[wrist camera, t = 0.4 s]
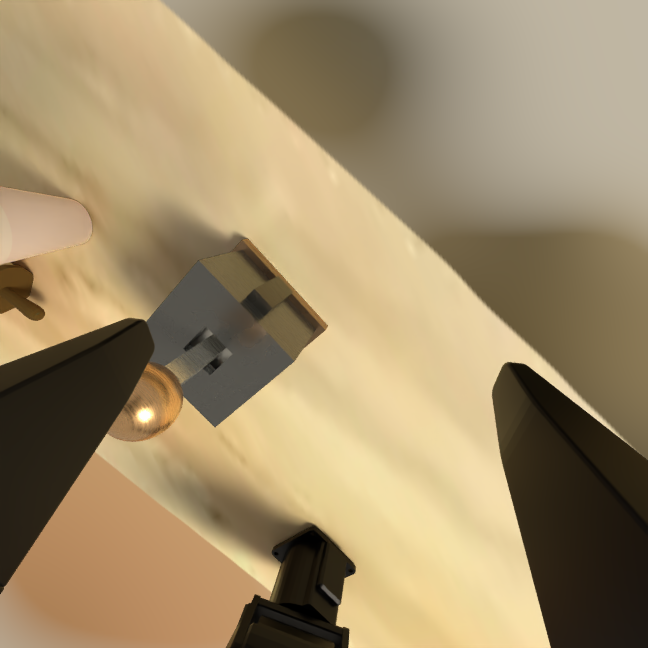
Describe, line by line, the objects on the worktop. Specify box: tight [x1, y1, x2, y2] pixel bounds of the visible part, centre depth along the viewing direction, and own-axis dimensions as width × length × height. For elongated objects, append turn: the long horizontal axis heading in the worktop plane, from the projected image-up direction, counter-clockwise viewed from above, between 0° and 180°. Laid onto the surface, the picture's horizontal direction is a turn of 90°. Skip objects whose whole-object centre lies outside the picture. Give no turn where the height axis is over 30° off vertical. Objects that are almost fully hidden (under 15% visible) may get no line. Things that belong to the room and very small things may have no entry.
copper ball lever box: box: [146, 239, 328, 427], centre depth 24 cm, size 9×9×7 cm
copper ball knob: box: [107, 327, 232, 442], centre depth 18 cm, size 6×6×9 cm
